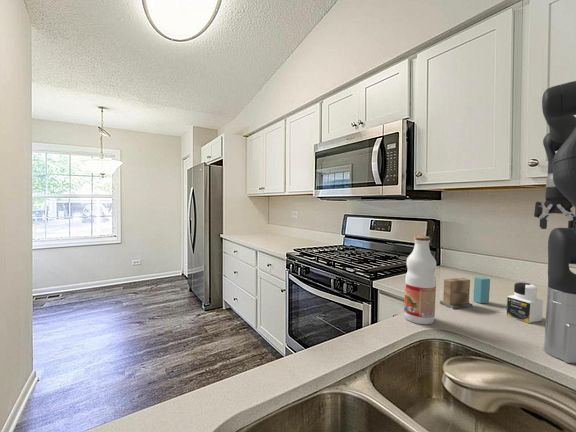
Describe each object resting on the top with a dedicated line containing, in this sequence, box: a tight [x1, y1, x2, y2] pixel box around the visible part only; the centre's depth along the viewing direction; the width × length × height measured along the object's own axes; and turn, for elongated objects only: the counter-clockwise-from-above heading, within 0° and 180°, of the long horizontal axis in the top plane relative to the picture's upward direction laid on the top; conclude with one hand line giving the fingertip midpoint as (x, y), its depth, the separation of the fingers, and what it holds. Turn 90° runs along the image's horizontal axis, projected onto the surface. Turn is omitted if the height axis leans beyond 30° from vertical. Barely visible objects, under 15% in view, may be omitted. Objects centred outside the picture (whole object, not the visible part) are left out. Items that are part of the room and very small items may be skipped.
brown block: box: [439, 277, 473, 310], centre depth 111 cm, size 10×6×10 cm, turn 107°
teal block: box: [472, 276, 491, 304], centre depth 115 cm, size 4×3×10 cm, turn 107°
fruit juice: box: [403, 235, 437, 325], centre depth 96 cm, size 9×9×28 cm
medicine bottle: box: [506, 282, 544, 324], centre depth 99 cm, size 7×7×12 cm
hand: (556, 230), depth 107 cm, fingers open, 8 cm apart
